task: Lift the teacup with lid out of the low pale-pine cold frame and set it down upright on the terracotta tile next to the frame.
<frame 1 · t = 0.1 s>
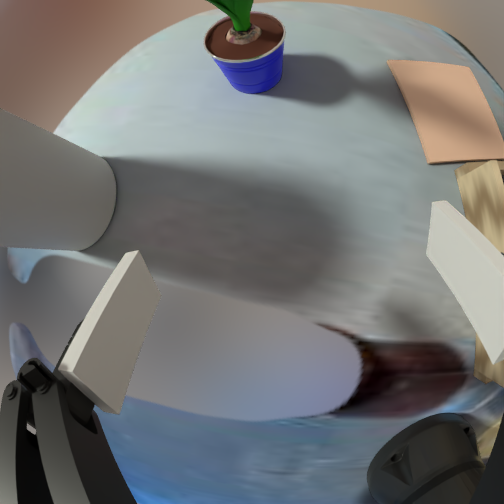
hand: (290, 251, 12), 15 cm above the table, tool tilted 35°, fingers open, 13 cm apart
cylinder vase: (84, 202, 31), on the table
hyacinth: (258, 70, 28), on the table
terracotta tile: (452, 108, 24), on the table
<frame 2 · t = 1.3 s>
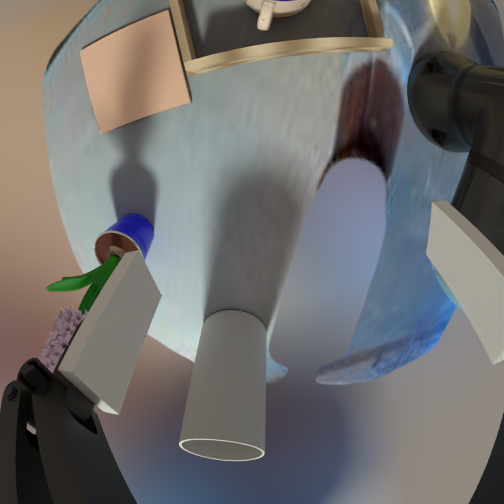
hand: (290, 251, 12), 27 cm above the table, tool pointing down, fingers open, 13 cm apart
cylinder vase: (234, 329, 54), on the table
hyacinth: (132, 228, 42), on the table
terracotta tile: (131, 72, 29), on the table
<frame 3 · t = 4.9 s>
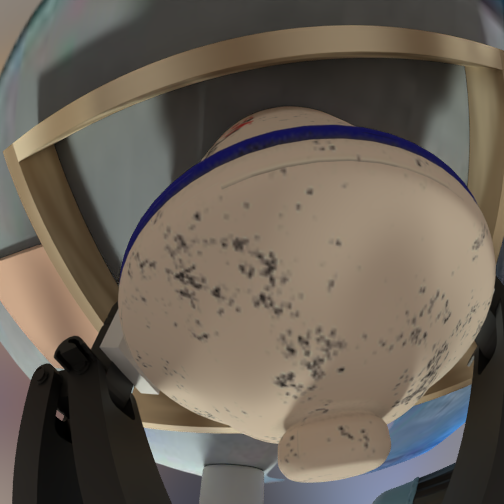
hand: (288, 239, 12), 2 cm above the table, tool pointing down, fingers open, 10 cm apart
teacup with lid: (282, 220, 14), resting in cold frame, touching gripper
cylinder vase: (233, 468, 45), on the table
terracotta tile: (57, 319, 19), on the table
cold frame: (283, 222, 14), on the table
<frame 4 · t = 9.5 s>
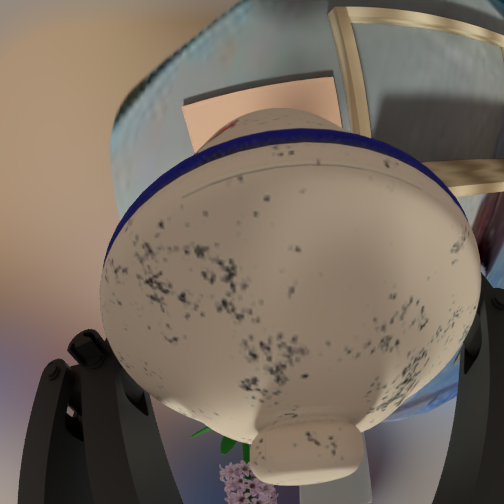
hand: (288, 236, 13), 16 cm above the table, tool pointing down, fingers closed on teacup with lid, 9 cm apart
teacup with lid: (273, 222, 14), point 14 cm above the table, touching gripper
cylinder vase: (326, 396, 51), on the table
hyacinth: (246, 329, 39), on the table
terracotta tile: (272, 157, 26), on the table
cold frame: (447, 95, 20), on the table
when the fingers open (3 cm above the table, at t = 13.9 s): teacup with lid moves 1 cm, resting on terracotta tile.
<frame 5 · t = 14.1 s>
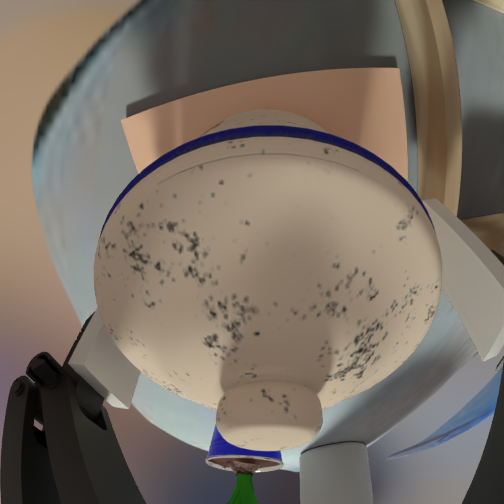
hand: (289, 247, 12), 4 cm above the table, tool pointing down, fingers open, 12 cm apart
teacup with lid: (260, 216, 15), resting on terracotta tile
cylinder vase: (332, 450, 40), on the table
hyacinth: (241, 406, 29), on the table
terracotta tile: (284, 208, 15), on the table
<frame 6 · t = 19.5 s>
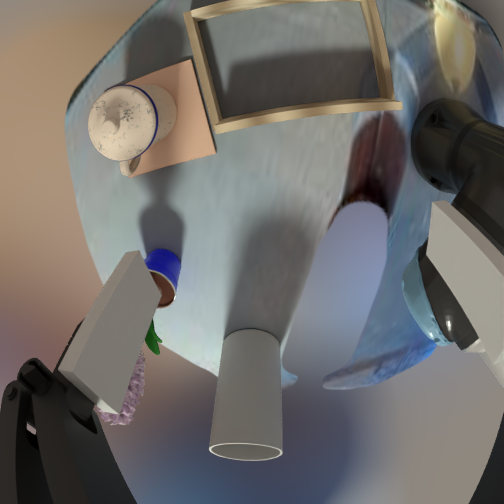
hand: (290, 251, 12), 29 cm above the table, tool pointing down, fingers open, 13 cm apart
teacup with lid: (147, 123, 34), resting on terracotta tile
cylinder vase: (251, 344, 60), on the table
hyacinth: (160, 261, 48), on the table
terracotta tile: (157, 120, 35), on the table
cold frame: (292, 52, 29), on the table
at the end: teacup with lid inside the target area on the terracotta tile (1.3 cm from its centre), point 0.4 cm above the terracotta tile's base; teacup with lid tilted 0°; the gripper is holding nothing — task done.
